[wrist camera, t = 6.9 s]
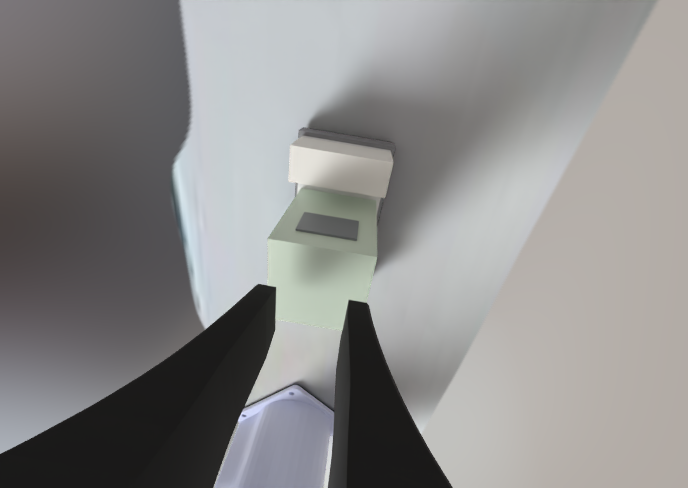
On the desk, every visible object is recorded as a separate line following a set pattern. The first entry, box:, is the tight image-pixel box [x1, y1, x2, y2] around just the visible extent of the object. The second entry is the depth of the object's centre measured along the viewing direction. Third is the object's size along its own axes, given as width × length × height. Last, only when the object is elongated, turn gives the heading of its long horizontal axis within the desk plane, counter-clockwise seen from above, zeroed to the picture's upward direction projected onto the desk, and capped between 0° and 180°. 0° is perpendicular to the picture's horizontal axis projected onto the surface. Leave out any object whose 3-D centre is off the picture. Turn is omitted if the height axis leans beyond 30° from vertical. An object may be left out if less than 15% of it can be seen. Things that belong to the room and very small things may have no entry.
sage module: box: [268, 188, 377, 331], centre depth 14 cm, size 4×4×6 cm
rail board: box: [289, 127, 395, 225], centre depth 16 cm, size 9×5×3 cm, turn 172°
